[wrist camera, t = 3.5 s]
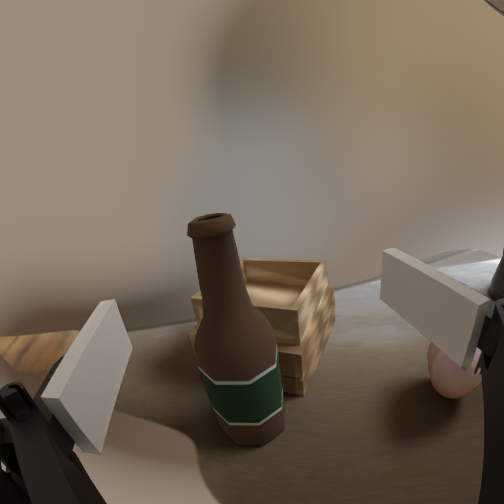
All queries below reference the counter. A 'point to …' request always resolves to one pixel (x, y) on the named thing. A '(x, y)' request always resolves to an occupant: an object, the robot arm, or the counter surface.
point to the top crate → (282, 294)
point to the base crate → (302, 348)
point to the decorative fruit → (452, 373)
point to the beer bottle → (234, 340)
